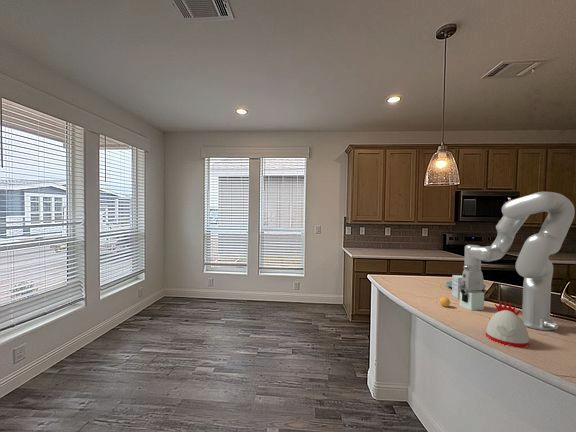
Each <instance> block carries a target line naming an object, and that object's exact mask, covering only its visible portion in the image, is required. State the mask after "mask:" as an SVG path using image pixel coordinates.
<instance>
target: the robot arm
mask: <svg viewBox="0 0 576 432" xmlns="http://www.w3.org/2000/svg"><path fill="white" fill-rule="evenodd" d="M575 211H576V210H575V206H574V204H573V202H572V201H571V200H570V199H569V198H568V197H566V195H563V194H561V193H560V192H559V193H558V192H554V191H553V192H552V191H538V192H533V193H531V194H528V195H524V196H521V197H517V198H514V199H511V200H508V201H506V202H505V203H504V204H503V205H502V206H501V213H502V217H501V219H500V220H498V222H497V224H496V225H495V230H496V232H497V233H496V234H497V236H496V237H495V239H494V241H493V242H492V243H491V245H486V246H481V245H477V244H466V245H465V246H464V258H463V259H464V265H463V266H462V267H463V271H462V283H461V284H460V285H459V286H458V288H459V290H460V292H461V293H462V301H464V302H468V295H467V293H468V291H480V292H483V293H484V291H485V289H486V287H487V286H486V284H485V283H484V275H483V271H482V262H493V261H498V260H500V259H502V258H503V257H504V256H505V255H506V253H507V252H508V251H509V250H510V248H511V246H512V244H513V242H514V241H515V240H514V239H515V235H516V234H517V233H518V231H519V230H520V229H521V227H522V225H524V223H526V220H528V218H529V217H530V215H534V214H538V213H543V212H545V213H546V212H547V216H546V218H545V219H544V221H543V223H542V225H541V227H540V229H539V231H538V233H534V234H532V235H530V236H528V237H527V239H526V240H525V241H524V244H523V245H522V247H521V250H520V252H519V254H518V255H517V259H516V261H515V270H516V272H517V274H518V275H519V276H520V277H522V278H523V282H522V283H523V285H522V306H521V307H522V313H521V317H520V318H521V320H522V321H523V323H524V324H525V326H526V328H529V329H534V330H537V331H538V330H540V331H553V330H557V329H558V328H559V326H560V325H559V323H555V322H554V321H553V318H551V300H552V299H551V297H552V296H551V294H552V280H553V275H554V264H553V263H552V261H551V260H550V258H549V257H550V255H555V254H556V253H558V252H559V251H560V250H561V248H562V246H563V243H564V240H565V239H566V237H567V234H568V231H569V229H570V227H571V225H572V223H573V221H574V218H575V213H576V212H575ZM462 288H463V289H462ZM465 290H466V291H465Z"/></svg>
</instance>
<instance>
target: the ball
mask: <svg viewBox="0 0 576 432" xmlns="http://www.w3.org/2000/svg"><path fill="white" fill-rule="evenodd" d="M439 304H440V306H442V307H444V308H447V307H449V306H450V305H451V301H450V299H449V298H448V297H446V296H442V297H441V298H439Z"/></svg>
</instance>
